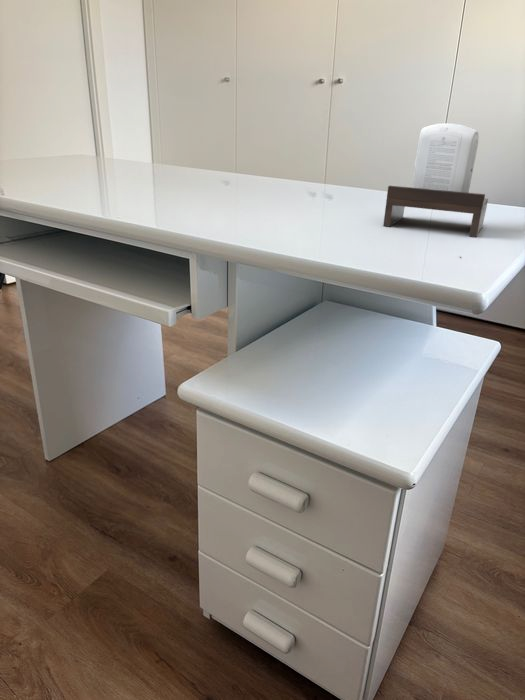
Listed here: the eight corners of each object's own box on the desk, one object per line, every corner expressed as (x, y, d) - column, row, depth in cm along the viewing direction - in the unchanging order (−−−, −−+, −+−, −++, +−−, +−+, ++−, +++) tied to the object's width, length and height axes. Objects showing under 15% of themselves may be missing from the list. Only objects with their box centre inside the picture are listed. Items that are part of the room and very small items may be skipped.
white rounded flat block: (470, 200, 95) (485, 124, 90) (462, 203, 92) (476, 124, 87) (416, 193, 100) (426, 122, 95) (406, 195, 97) (416, 122, 92)
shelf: (397, 216, 106) (402, 179, 103) (482, 226, 100) (490, 187, 97) (383, 226, 97) (388, 186, 94) (476, 237, 91) (484, 194, 88)
